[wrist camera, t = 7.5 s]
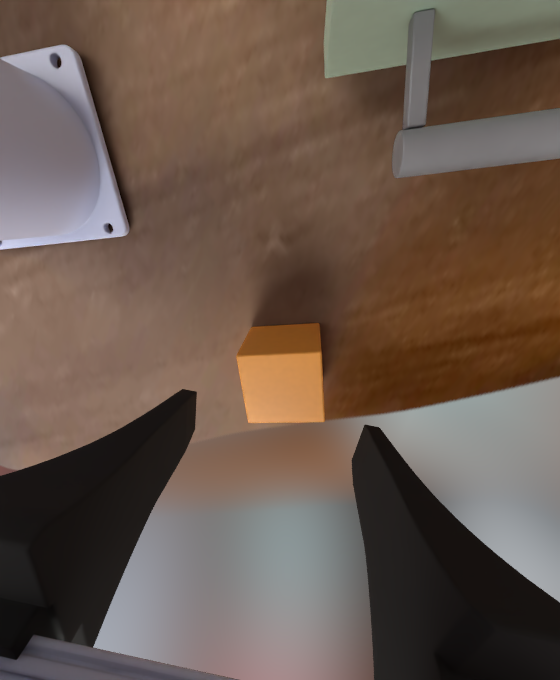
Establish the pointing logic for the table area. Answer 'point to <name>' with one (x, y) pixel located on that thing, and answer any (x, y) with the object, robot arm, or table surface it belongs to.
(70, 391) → the table surface
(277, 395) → the orange cube
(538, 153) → the drawer
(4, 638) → the robot arm
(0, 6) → the table surface
